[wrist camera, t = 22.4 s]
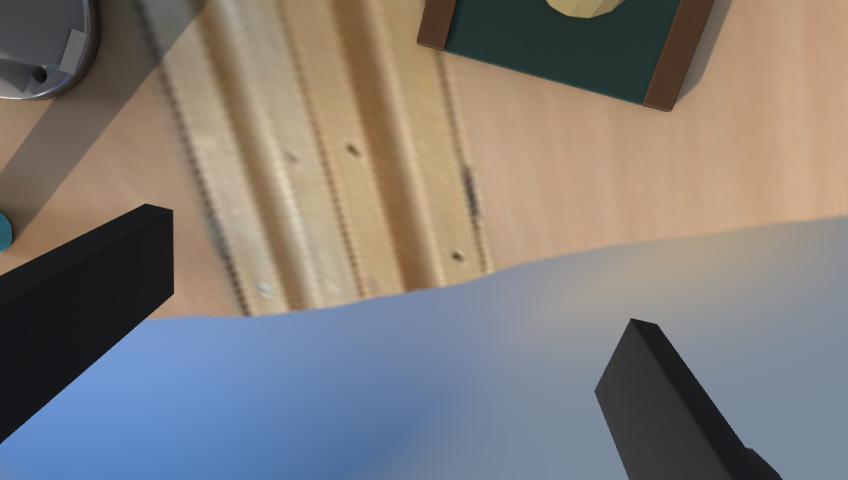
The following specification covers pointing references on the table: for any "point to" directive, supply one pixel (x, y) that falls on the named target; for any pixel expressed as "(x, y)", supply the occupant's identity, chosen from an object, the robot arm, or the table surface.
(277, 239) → the table surface
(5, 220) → the tube
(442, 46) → the desk pad
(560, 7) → the squeeze bottle
